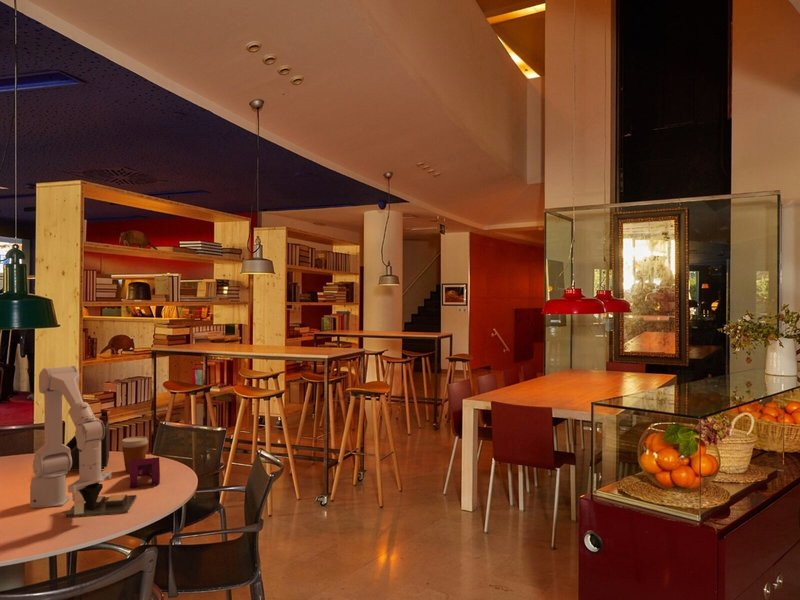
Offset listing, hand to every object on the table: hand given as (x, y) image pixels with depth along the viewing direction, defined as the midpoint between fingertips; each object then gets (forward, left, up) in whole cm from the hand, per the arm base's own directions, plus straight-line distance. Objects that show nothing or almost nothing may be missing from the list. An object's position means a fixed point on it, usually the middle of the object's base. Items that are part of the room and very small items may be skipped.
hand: (90, 510), depth 177 cm
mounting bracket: (+7, +40, -4) cm, 41 cm away
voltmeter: (-18, +64, -4) cm, 66 cm away
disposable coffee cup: (+2, +54, -4) cm, 54 cm away
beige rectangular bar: (-5, +7, 0) cm, 8 cm away
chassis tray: (0, +13, -3) cm, 13 cm away
